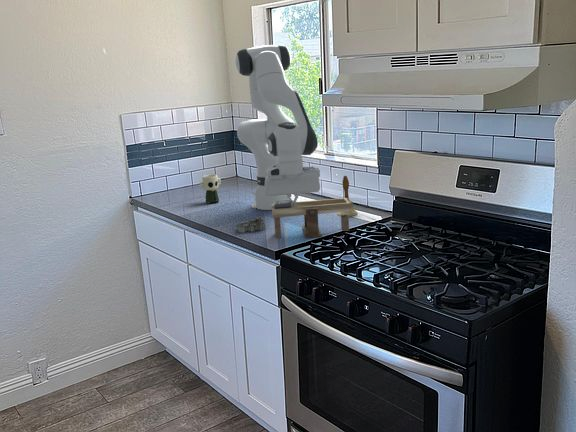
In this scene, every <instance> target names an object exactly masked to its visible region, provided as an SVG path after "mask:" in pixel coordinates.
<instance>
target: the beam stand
mask: <svg viewBox="0 0 576 432" xmlns="http://www.w3.org/2000/svg"><path fill="white" fill-rule="evenodd" d="M273 220H274V221H273V222H274V224H273V225H274V235H275V236H274V237H275V238H282V229H281V217H277V218H273ZM303 220H304V225H301V229H302V232H303V235H304V238H305V239H313V238H322V237H323V234H322V232H321V230H320V227H319V214H318V209H317V208H308V209H306V215H303ZM349 220H350V219H349V217H348V216H347V214H346V213H344V214H341V216H340V226H341V230H342V231H349V232H350V221H349Z"/></svg>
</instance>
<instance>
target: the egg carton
mask: <svg viewBox="0 0 576 432" xmlns="http://www.w3.org/2000/svg"><path fill="white" fill-rule="evenodd" d="M265 224H266V222H264V219H263V218H262V216H256V217H253V219H250V220H247V221H245V220H244V221H242V222H236V230H237V231H238V233H246V232H254V231H263V230H265V229H266V228H265V226H266V225H265Z"/></svg>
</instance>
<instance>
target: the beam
mask: <svg viewBox="0 0 576 432" xmlns="http://www.w3.org/2000/svg"><path fill="white" fill-rule="evenodd" d="M308 208H317V209H318V215H322V214H331V213H338V212H346V211H350V202H349V201H348V200H347V198H345V197H340V198H339V197H338V198H328V199H327V198H326V199H316V200H306V201H296V206H291V208H280V209H275V206H274V204H272V210H271V214H272V218H273V219H274V218H277V217H280V218H286V217H298V216H300V217H301V216H304V215H306V209H308Z"/></svg>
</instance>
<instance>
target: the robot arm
mask: <svg viewBox="0 0 576 432" xmlns="http://www.w3.org/2000/svg"><path fill="white" fill-rule="evenodd" d="M291 62H292V54H291V52H290V50H289V47H287V46H286V45H284V44H277V45H275V44H270V45H269V44H266V45H261V46H253V47H251V48H250V47H249V48H242V49H240V50H238V51H237V52H236V56H235V66H236V69H237V71H238V73H239V74H241V75H242V76H246V77H249V80H248V82H249V93H250V95H249V96H250V104H251V107H252V108H253V109H255V111H257V112H259V113H262V114H264V115H265V116H266V118H257V119H255V118H254V119H248V120H245V121H241V122H240V123H239V124H238V126H237V131H236V135H237V139H238V140H239V142H240V143H241V144H243V145H244V146H246V148H248V149H249V150H250V151H251V153H252V155H253V156H254V160H255V164H256V171H257V176H256V182H257V183H256V184H257V186H256V187H255V189H254V195H253V196H254V202H253V203H252V204H251V207H252V208H251V209H256V208H257V210H263V211H272V204H274V201H282V200H290V201H291V206H296V202H297V201H298V198H299V194H310V193H318V192H319V191H320V190H321V184H320V179H319V178H320V176H321V171H320V169H319V168H318V167H316V166H305V167H304V163H303V156H311V155H312V154H313V153H314V152H315V151H316V150H317V148H318V146H319V145H318V143H319V142H318V136H317V135H316V132H315V130H314V128H313V127H312V124H311V122H310V120H309V117H308V114H307V112H306V110H305V109H306V108H305V107H304V105H303V102H302V99H301V97H300V94H299V93H298V91H297V90H296V89H294V88H292V87H291V85H289V83H288V82H287V79H286V76H285V71H287V70H288V69H289V68H290V67H291ZM280 106H282V107H283V108H286V109H288V110H289V111H290V112H291V113H292V115H293V117H294V120H295V121H294V120H293V119H292V118H290V117H289V116H288V115H286V114H285V113H284V112H283V111H282V108H281V107H280ZM292 195H293V196H294V199H292Z"/></svg>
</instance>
